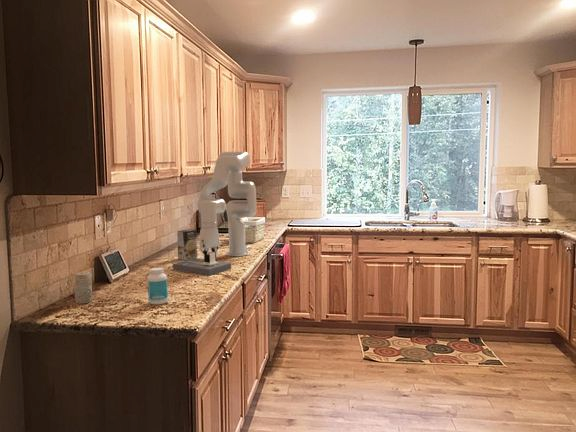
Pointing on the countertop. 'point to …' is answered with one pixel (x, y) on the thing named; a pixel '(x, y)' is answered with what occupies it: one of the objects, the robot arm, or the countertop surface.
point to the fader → (211, 259)
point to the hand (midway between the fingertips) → (210, 261)
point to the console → (201, 267)
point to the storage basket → (254, 228)
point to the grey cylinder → (83, 287)
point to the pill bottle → (157, 287)
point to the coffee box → (187, 244)
